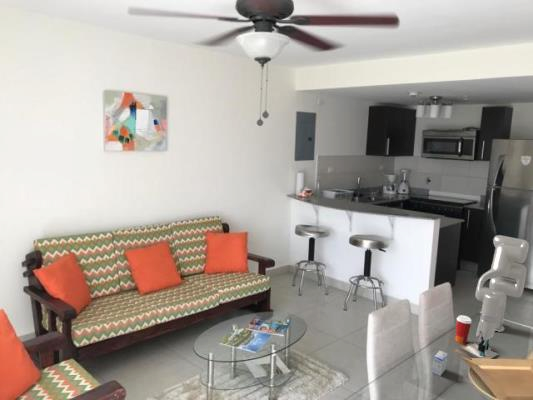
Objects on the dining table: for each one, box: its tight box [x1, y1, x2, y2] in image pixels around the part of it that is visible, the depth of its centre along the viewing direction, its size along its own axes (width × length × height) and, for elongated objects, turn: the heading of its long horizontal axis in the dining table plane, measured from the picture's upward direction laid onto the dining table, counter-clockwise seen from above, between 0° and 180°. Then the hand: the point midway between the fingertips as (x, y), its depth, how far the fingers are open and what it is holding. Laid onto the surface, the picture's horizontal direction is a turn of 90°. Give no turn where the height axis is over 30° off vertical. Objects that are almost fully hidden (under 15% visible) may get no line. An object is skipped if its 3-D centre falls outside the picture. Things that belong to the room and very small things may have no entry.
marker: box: [479, 340, 488, 357], centre depth 225 cm, size 3×3×12 cm
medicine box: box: [430, 350, 449, 377], centre depth 209 cm, size 8×4×9 cm, turn 141°
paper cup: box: [454, 315, 473, 345], centre depth 240 cm, size 8×8×14 cm
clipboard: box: [454, 341, 492, 359], centre depth 229 cm, size 18×14×2 cm
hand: (482, 350), depth 225 cm, fingers closed on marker, 2 cm apart
